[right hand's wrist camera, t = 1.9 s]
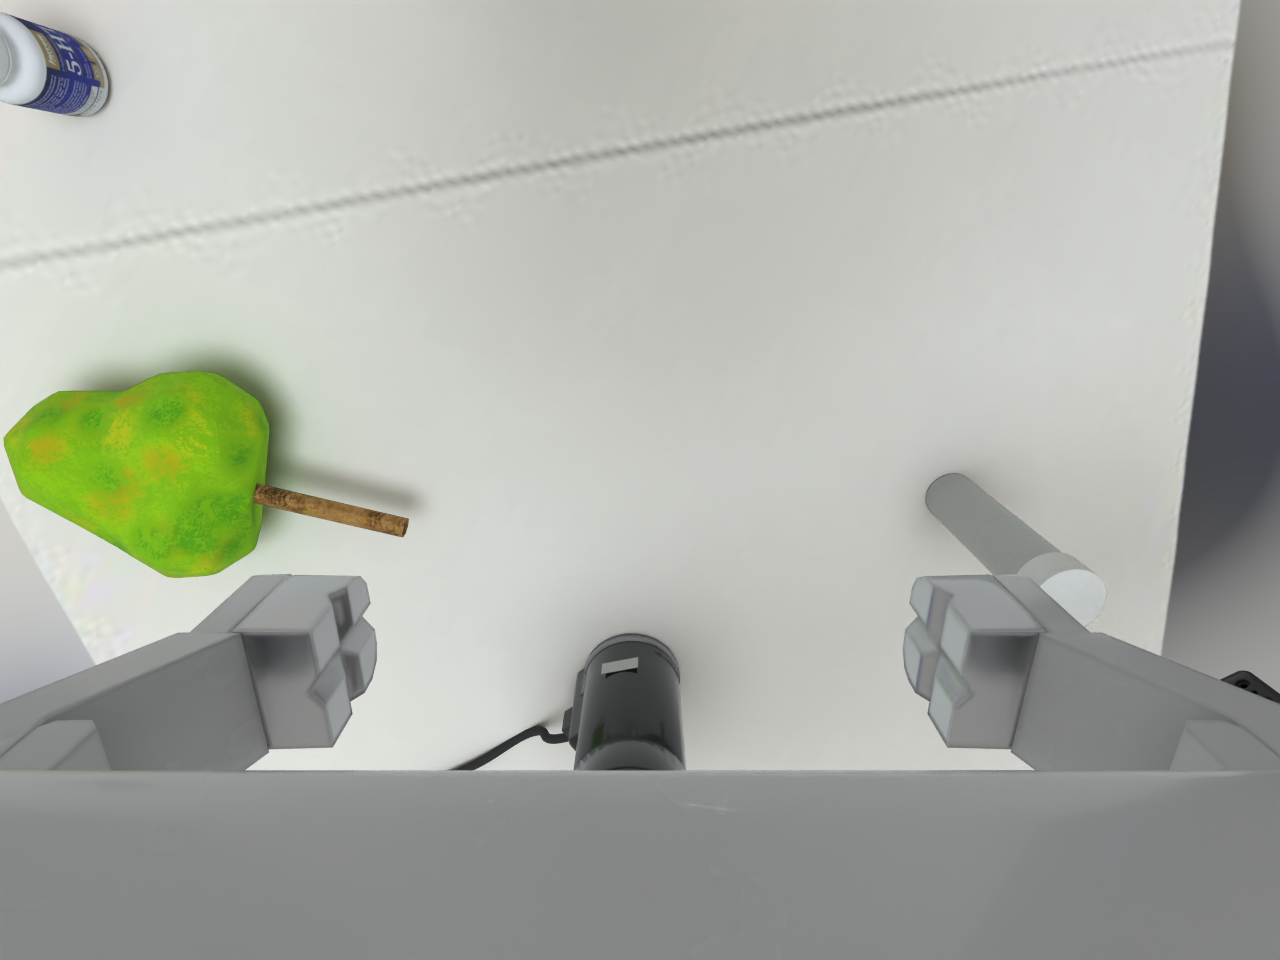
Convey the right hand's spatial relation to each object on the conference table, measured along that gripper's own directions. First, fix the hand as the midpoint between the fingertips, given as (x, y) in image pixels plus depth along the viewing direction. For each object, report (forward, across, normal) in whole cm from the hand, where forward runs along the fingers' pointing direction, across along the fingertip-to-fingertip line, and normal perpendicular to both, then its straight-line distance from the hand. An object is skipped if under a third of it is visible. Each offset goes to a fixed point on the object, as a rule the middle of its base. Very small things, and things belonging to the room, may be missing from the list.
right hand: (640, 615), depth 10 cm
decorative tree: (+48, +34, +14) cm, 61 cm away
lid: (+30, -28, +18) cm, 45 cm away
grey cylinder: (+48, -28, +18) cm, 58 cm away
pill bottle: (+48, +41, -15) cm, 65 cm away
